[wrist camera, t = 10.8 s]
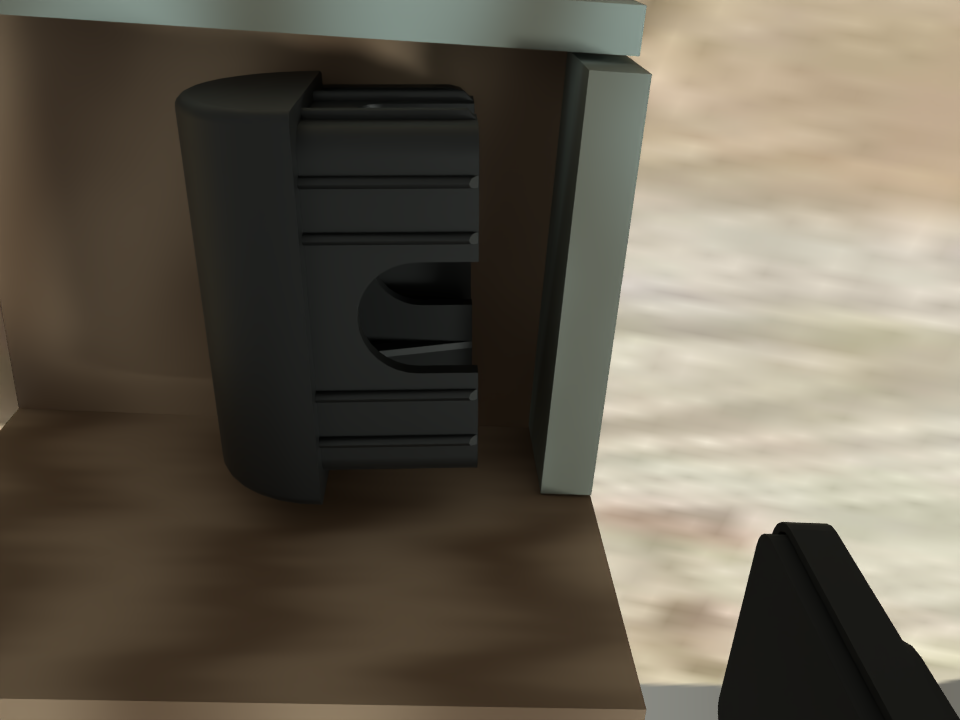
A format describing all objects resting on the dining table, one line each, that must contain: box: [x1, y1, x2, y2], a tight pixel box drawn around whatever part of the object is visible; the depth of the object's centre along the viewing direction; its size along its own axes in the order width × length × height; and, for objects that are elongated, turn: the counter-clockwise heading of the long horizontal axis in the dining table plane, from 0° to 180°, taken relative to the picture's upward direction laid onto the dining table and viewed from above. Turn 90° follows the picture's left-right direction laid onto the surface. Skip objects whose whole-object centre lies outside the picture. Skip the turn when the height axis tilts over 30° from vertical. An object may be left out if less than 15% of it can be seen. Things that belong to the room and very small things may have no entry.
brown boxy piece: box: [0, 0, 652, 720], centre depth 22 cm, size 18×15×13 cm
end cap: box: [175, 71, 479, 505], centre depth 24 cm, size 10×7×7 cm
